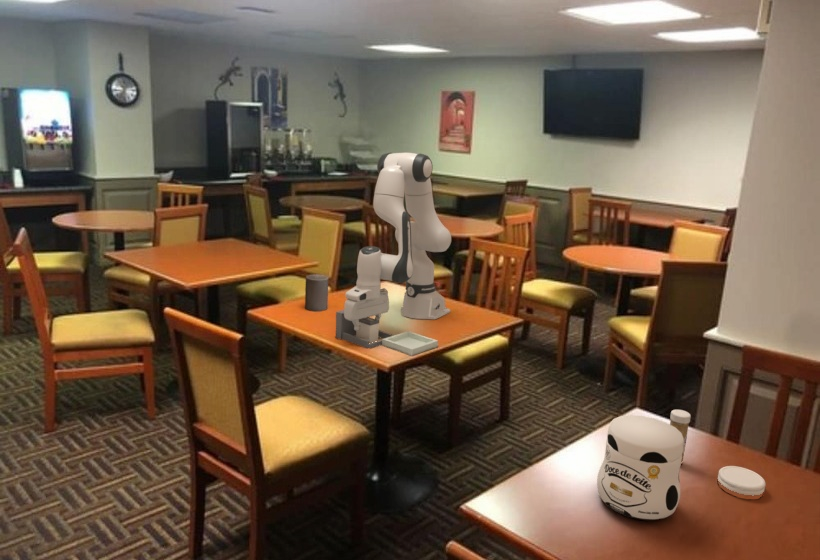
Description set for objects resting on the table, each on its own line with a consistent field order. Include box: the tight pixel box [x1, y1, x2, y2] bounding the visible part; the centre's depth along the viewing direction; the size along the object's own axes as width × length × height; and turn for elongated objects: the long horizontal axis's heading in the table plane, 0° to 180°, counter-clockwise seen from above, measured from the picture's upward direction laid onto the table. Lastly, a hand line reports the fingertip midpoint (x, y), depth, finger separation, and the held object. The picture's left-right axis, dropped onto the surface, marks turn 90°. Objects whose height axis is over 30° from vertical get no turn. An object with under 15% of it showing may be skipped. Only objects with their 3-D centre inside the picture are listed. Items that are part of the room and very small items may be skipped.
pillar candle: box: [304, 274, 330, 312], centre depth 281 cm, size 10×10×15 cm
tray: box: [381, 330, 439, 357], centre depth 241 cm, size 14×14×2 cm
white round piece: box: [717, 465, 766, 496], centre depth 156 cm, size 10×10×4 cm
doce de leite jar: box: [596, 414, 684, 522], centre depth 145 cm, size 17×17×18 cm
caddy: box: [355, 316, 380, 343], centre depth 245 cm, size 5×7×8 cm, turn 49°
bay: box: [335, 309, 393, 349], centre depth 245 cm, size 14×17×10 cm
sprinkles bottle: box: [669, 409, 692, 462], centre depth 165 cm, size 5×5×13 cm
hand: (366, 327), depth 244 cm, fingers open, 8 cm apart
